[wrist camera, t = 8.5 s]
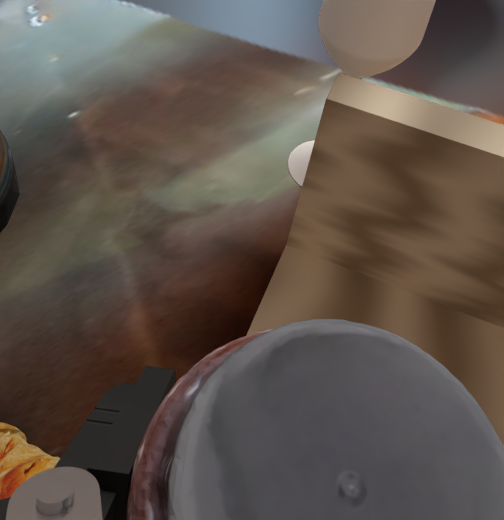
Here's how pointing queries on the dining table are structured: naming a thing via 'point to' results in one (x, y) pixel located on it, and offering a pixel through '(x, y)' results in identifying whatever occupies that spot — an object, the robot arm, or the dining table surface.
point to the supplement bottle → (318, 434)
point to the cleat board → (402, 232)
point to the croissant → (19, 460)
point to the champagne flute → (366, 44)
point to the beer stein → (7, 183)
